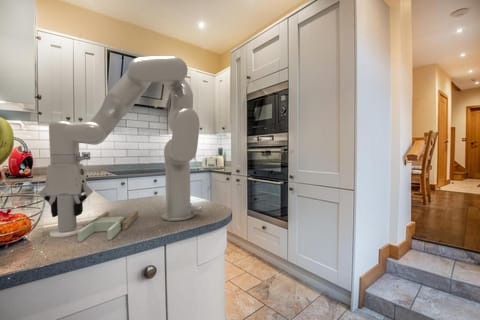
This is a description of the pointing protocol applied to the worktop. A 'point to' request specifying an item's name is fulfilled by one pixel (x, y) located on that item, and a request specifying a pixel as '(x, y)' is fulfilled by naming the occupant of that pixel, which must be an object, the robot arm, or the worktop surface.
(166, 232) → the worktop surface
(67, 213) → the beverage can
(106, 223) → the sliding holder
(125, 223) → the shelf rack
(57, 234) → the ceramic coaster
